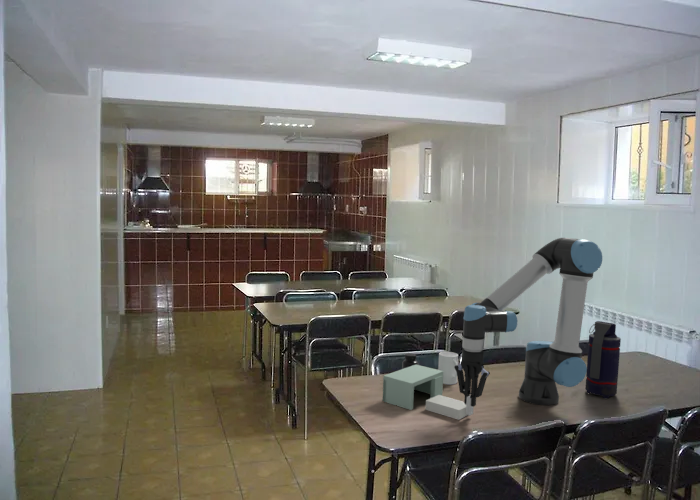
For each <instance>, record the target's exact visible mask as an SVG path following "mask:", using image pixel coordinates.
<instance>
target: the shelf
mask: <svg viewBox="0 0 700 500" xmlns="http://www.w3.org/2000/svg"><path fill="white" fill-rule="evenodd" d="M382 377H383V381H382V399H381V400H382V402H383V401H384V403H386V402H387V404H390V405H393V406H396V405H397V406H398V407H400V408H403V409H406V410H410V411H412V410H413V409H414V399H415V398H414V393H415V391H419V392H421V393H425V394H429V399H430V398H433V397H435V396H437V395H442V396H443V390H444V389H443V386H444V384H443V371H440V370H438V369H436V368H432V367H428V366H423V365H420V364H418V365H413V366H410V367H407V368H404V369H402V368H401V369H398V370H396V371H393V372H390V373H387V374H385V375H383V376H382ZM414 390H415V391H414Z"/></svg>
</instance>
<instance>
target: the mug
mask: <svg viewBox="0 0 700 500" xmlns="http://www.w3.org/2000/svg"><path fill="white" fill-rule="evenodd" d="M458 362H459V354H458V353H456V352H452V351H441V352H439V353H438V368H437V370H440V371H443V385H456V384H457V383H458V377H457V372H456V370H455V366H456V365H459V363H458Z"/></svg>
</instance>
